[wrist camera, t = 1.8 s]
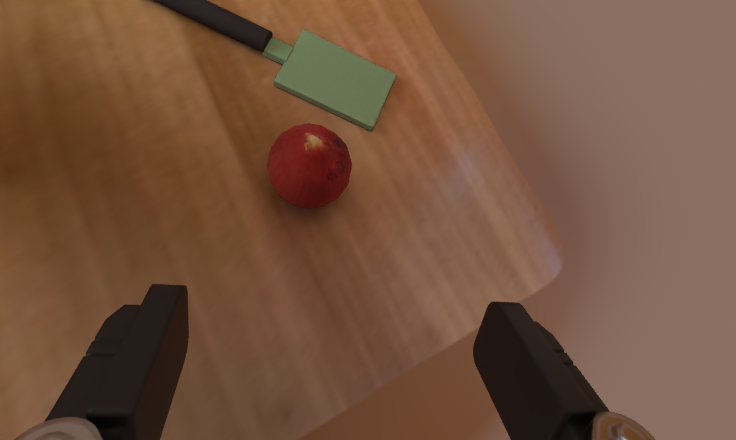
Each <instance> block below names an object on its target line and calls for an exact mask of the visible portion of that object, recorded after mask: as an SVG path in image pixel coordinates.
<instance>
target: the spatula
mask: <svg viewBox="0 0 736 440" xmlns="http://www.w3.org/2000/svg"><path fill="white" fill-rule="evenodd" d="M154 1H156V2H158V3H160V4H163V5H165V6H167V7H169V8H171V9H173V10H175V11H177V12H179V13H181V14H184V15H186V16H188V17H190V18H192V19H194V20H196V21H198V22H200V23H202V24H205V25H207V26H209V27H211V28H213V29H215V30H217V31H219V32H221V33H223V34H226V35H228V36H230V37H232V38H234V39H236V40H238V41H240V42H242V43H244V44H247V45H249V46H251V47H253V48H255V49H257V50H259V51H261V52H262V55H263V56H265V57H267V58H269V59H271V60H274V61H276V62H278V63H280V64H282V65H283V66H282V68H281V69H280V71H279V73H278V75H277V76H276V78H275V80H274V86H276V87H278V88H280V89H282V90H284V91H287V92H289V93H291V94H293V95H295V96H297V97H299V98H301V99H304V100H306V101H308V102H310V103H312V104H314V105H316V106H318V107H321V108H323V109H325V110H327V111H329V112H331V113H333V114H335V115H338V116H340V117H342V118H344V119H346V120H348V121H350V122H353V123H355V124H357V125H359V126H361V127H363V128H365V129H367V130H370V131H372V129H373V127H374V125H375V123H376V120H377V118H378V116H379V113H380V111H381V109H382V107H383V104H384V102H385V100H386V98H387V95H388V93H389V91H390V88H391V86H392V84H393V82H394V79H395V77H396V74H394V73H392V72H390V71H388V70H386V69H384V68H382V67H380V66H378V65H376V64H374V63H372V62H370V61H368V60H365V59H363V58H361V57H359V56H357V55H355V54H353V53H351V52H349V51H347V50H345V49H343V48H341V47H339V46H337V45H335V44H333V43H331V42H328V41H326V40H324V39H322V38H320V37H318V36H316V35H314V34H312V33H310V32H308V31H306V30H303V31H302V33H301V35H300V36H299V38H298V40H297V41H296V43H295V45H294V47H292V46H290V45H288V44H286V43H284V42H282V41H279V40H277V39H275V38H273V37H272V32H271V31H269V30H267V29H265V28H263V27H261V26H259V25H257V24H255V23H253V22H250V21H248V20H246V19H244V18H242V17H240V16H238V15H236V14H234V13H232V12H230V11H228V10H226V9H223V8H221V7H219V6H217V5H215V4H213V3H211V2H209V1H207V0H154Z"/></svg>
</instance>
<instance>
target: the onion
mask: <svg viewBox="0 0 736 440" xmlns="http://www.w3.org/2000/svg"><path fill="white" fill-rule="evenodd" d="M267 166H268V170H269V175H270V179H271V182H272V185H273V186H274V187H275V189H276V190H277V192H278V193H279V195H280V196H281V197H282V198H284V199H285V200H287V201H288V202H290V203H291V204H293V205H294V206H300V207H305V208H315V207H321V206H325V205H327V204H328V203H330V202H332V201H334V200H335V199H337V198H338V197H339V196H340V195H341V193H342V192H343V190H344V189H345V188H346V186H347V185H348V182H349V178H350V173H351V167H352V163H351V159H350V155H349V152H348V148H347V146H346V144H345V143H344V142H343V141H342V140H341V139H340V138H339V137H338V136H337V135H336V134H335V133H334V132H332V131H330V130H328V129H326V128H325V127H323V126H321V125H315V124H309V123H308V124H303V125H298V126H294V127H292V128H291V129H289V130H287V131H285V132H283V133H282V134H281V135H279V137H278V138H277V140H276V141H275V143H274V144H273V146H272V147H271V150H270V153H269V159H268V165H267Z"/></svg>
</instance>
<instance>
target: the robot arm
mask: <svg viewBox="0 0 736 440" xmlns="http://www.w3.org/2000/svg"><path fill="white" fill-rule="evenodd" d="M188 338H189V327H188V292H187V287H186V286H184V285H164V284H152V285H151V286H150V288H149V290H148V292H147V294H146V296H145V298H144V300H143V302H142V304H141V305H124V306H122V307H121V308H120V309H118V310H117V311H116V312H115V313H113V314H112V315H111V316H110V317H108V318H107V319H106V320H105V322H104V323H103V325H102V327H101V328H100V330H99V332H98V333H97V335H96V337H95V341H93V342H92V343H91V345H90V347H89V348H88V350H87V352H86V356H84V357H83V358H82V360H81V362H80V363H79V365H78V367H77V369H76V370H75V372H74V374H73V375H72V377H71V379H70V380H69V382H68V384H67V385H66V387H65V389H64V390H63V392H62V394H61V395H60V397H59V399H58V400H57V402H56V404H55V405H54V407H53V409H52V410H51V412H50V414H49V416H48V417H47V418H46V420H45V421H44V422H43V423H41V424H38V425H36V426H34V427H32V428H30V429H28V430H27V431H25V432H24V433H22V434H21V435H19V436H18V437H17V438H16V439H14V440H160V437H161V434H162V431H163V428H164V425H165V422H166V418H167V415H168V412H169V409H170V406H171V402H172V399H173V396H174V393H175V390H176V386H177V383H178V380H179V377H180V374H181V371H182V367H183V364H184V361H185V357H186V353H187V347H188ZM473 356H474V361H475V365H476V367H477V369H478V371H479V373H480V375H481V378H482V380H483V382H484V384H485V386H486V388H487V390H488V392H489V394H490V397H491V399H492V401H493V403H494V405H495V407H496V409H497V411H498V413H499V415H500V418H501V420H502V422H503V424H504V426H505V428H506V430H507V432H508V435H509V436H510V439H511V440H655V439H654V437H653V436H652V435H651V434H650V433H649V432H648V431H647V430H646V429H645V428H643V427H642V426H641V425H640V424H638V423H637V422H635V421H634V420H632V419H630V418H628V417H626V416H624V415H621V414H618V413H614V412H610V411H609V410H608V408H607V407H606V406H605V404H604V403H603V402H602V400H601V399H600V398H599V396H598V395H597V394H596V392H595V391H594V390H593V388H592V387H591V386H590V384H589V383H588V382H587V380H586V379H585V377H584V376H583V375H582V373H581V372H580V371H579V370H578V368H577V367H576V366H574V365H573V361H572V360H571V359H570V357H569V356H568V355H567V353H564V349H563V348H562V346H561V345H560V344H559V342H558V341H557V340H556V339H555V338H554V336H553V335H552V334H551V333H550V332H548V331H547V330H546V329H545V328H544V327H542V326H541V325H540V324H539V323H538V322H534V321H533V320H532V319H531V317H530V316H529V314H528V313H527V311H526V310H525V309H524V307H523V306H522V305H521V304H520V303H513V302H491V303H490V304H489V305H488V307H487V310H486V312H485V315H484V318H483V320H482V323H481V326H480V328H479V331H478V334H477V337H476V340H475V342H474V347H473Z"/></svg>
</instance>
